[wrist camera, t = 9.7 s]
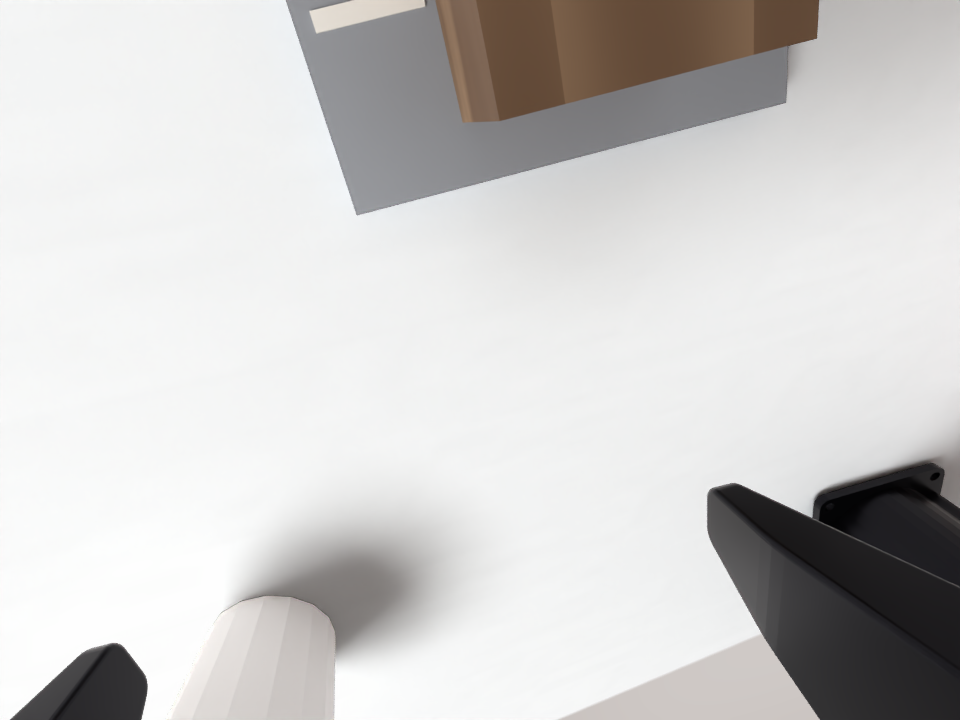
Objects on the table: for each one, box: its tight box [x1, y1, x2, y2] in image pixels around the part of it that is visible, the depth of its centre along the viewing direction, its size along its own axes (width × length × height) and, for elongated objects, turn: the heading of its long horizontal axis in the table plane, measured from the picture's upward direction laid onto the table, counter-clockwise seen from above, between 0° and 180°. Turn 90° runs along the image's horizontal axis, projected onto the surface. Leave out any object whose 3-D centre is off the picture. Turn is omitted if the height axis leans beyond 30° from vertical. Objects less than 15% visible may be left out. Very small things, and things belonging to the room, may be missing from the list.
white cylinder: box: [166, 596, 335, 720], centre depth 21 cm, size 7×7×7 cm
